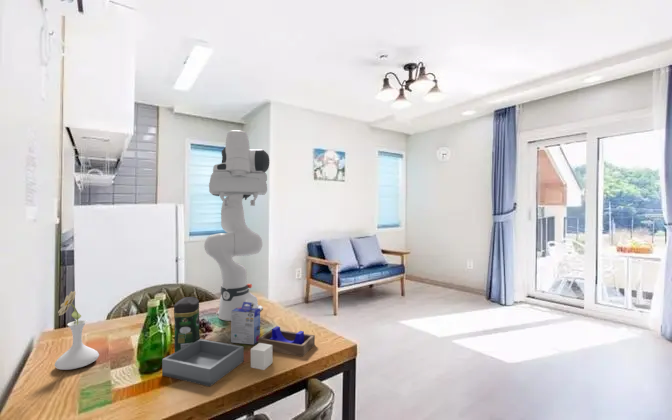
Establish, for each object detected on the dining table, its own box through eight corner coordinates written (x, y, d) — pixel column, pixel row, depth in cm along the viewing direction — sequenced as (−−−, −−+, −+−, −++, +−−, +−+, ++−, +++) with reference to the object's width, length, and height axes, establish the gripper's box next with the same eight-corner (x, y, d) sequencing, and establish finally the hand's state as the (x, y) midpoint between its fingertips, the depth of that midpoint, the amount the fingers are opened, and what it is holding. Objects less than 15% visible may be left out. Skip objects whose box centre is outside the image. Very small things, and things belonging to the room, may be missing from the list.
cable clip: (269, 346, 121) (269, 330, 121) (276, 341, 125) (276, 326, 125) (297, 352, 116) (297, 335, 116) (303, 347, 120) (303, 331, 120)
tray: (200, 352, 115) (200, 338, 115) (243, 361, 109) (243, 346, 109) (162, 375, 100) (162, 359, 100) (209, 386, 94) (209, 369, 94)
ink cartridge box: (261, 339, 127) (261, 302, 127) (254, 345, 121) (254, 306, 121) (237, 337, 129) (237, 300, 129) (230, 343, 123) (230, 304, 123)
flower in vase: (61, 360, 109) (60, 286, 109) (102, 354, 114) (102, 282, 114) (46, 379, 98) (45, 296, 97) (92, 371, 102) (91, 292, 102)
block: (259, 360, 110) (259, 342, 110) (272, 362, 108) (272, 345, 108) (250, 367, 105) (250, 349, 105) (264, 370, 103) (264, 351, 103)
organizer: (272, 337, 128) (272, 329, 128) (314, 344, 122) (314, 335, 122) (258, 348, 119) (258, 338, 119) (302, 356, 112) (302, 346, 112)
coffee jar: (178, 345, 121) (178, 295, 121) (201, 343, 123) (201, 294, 122) (171, 357, 112) (170, 303, 111) (196, 355, 113) (195, 302, 113)
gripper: (265, 174, 128) (267, 207, 124) (209, 172, 121) (209, 208, 117) (267, 167, 122) (269, 202, 118) (209, 165, 115) (209, 202, 111)
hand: (239, 205), depth 117 cm, fingers open, 8 cm apart
